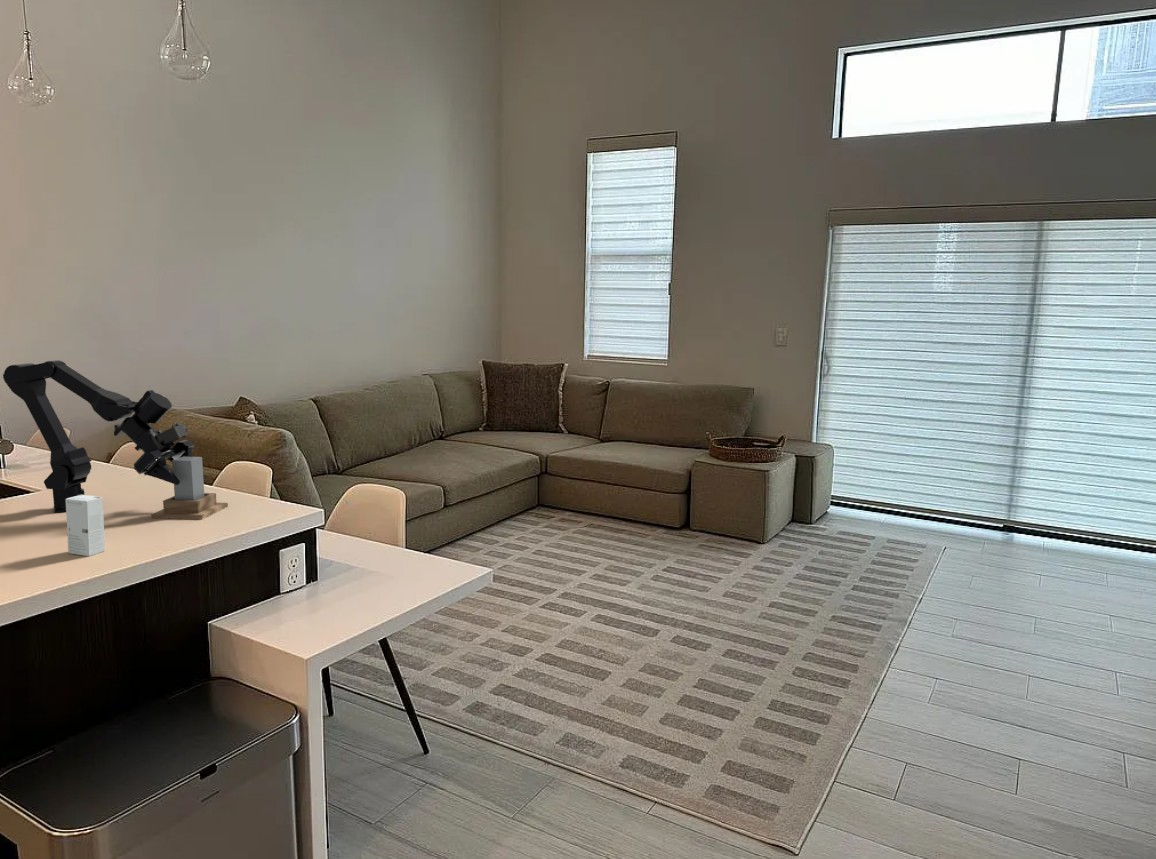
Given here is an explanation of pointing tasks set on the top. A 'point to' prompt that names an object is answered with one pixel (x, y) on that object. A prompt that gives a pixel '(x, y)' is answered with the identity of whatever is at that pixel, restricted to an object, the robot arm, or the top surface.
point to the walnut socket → (190, 507)
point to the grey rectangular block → (188, 478)
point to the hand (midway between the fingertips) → (188, 479)
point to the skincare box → (85, 525)
